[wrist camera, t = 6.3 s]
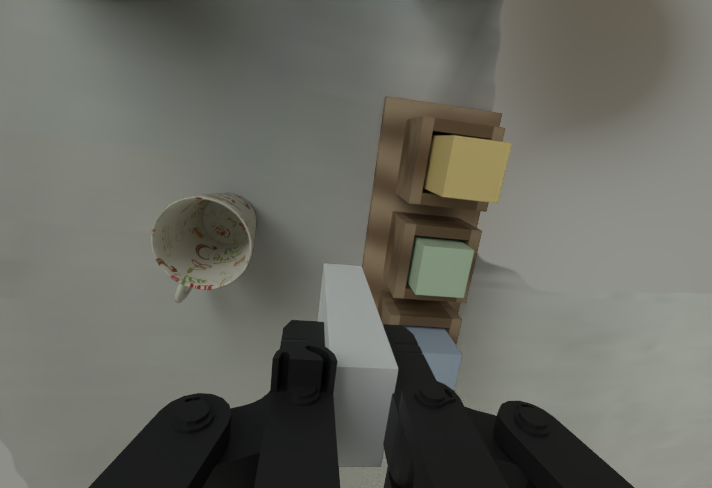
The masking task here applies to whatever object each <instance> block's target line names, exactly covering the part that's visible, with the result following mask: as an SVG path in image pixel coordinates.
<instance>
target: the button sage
mask: <svg viewBox="0 0 712 488" xmlns="http://www.w3.org/2000/svg"><path fill="white" fill-rule="evenodd" d="M473 254H474V250H473V249H472V248H470V247H469V246H467V245H466V244H465V243H463V242H462V241H460V240H459V239H450V238H439V237H429V236H418V235H415V236H414V241H413V247H412V253H411V259H410V264H409V270H408V276H407V282H408V284H409V285H410V287H411V289H412V290H413V292H414V293H415V295H428V296H442V297H456V298H464V294H465V290H466V285H467V281H468V276H469V272H470V268H471V263H472V259H473Z"/></svg>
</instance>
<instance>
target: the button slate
mask: <svg viewBox="0 0 712 488" xmlns="http://www.w3.org/2000/svg"><path fill="white" fill-rule="evenodd" d="M403 326H404V327H406V328H407V329H408V330H409V331H410V332H411V333H413V334H414V336H415V338H416V340H417V342H418V346H420V348H421V350H422V354H424V356H425V358H426V360H427V362H428V364H429V366H430V368H431V370H432V372H433V374H434V376H435V378H436V380H437V381H438V382H441V383H443V384H445V385H447V386H448V387H450V388H451V389H452V390H454V388H455V384H456V380H457V375H458V371H459V367H460V363H461V358H462V354H461V352H460V351H459V349H458V348H457V346H456V345H455V343H454V342H453V340H452V339H451V337H450V336H449V334H448V333H447V331H446V330H445V329H444V328H442V327H425V326H408V325H403Z"/></svg>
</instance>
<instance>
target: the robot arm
mask: <svg viewBox="0 0 712 488" xmlns="http://www.w3.org/2000/svg"><path fill="white" fill-rule="evenodd" d="M384 450H385V455H386V459H387V464H388V468H387V473H386V478H385V484H384V488H634V487H633V486H632V485H631V484H630V483H628V482H627V481H626V480H625V479H624V478H623V477H622V476H620V475H619V474H618V473H617V472H616V471H615V470H614V469H613V468H611V467H610V466H609V465H608V464H607V463H606V462H605V461H603V460H602V459H601V458H600V457H599V456H598V455H597V454H595V453H594V452H593V451H592V450H591V449H590V448H589V447H587V446H586V445H585V444H584V443H583V442H582V441H581V440H579V439H578V438H577V437H576V436H575V435H574V434H573V433H571V432H570V431H569V430H568V429H567V428H566V427H565V426H563V425H562V424H561V423H560V422H559V421H558V420H557V419H555V418H554V417H553V416H552V415H550V414H549V413H547V412H546V411H545V410H543V409H541V408H539V407H537V406H534V405H533V404H529V403H526V402H521V401H508V402H505V403H503V404H502V405H501V407H500V409H499V411H498V414H497V416H495V415H491V414H488V413H484V412H480V411H476V410H473V409H470V408H467V407H464V405H463V403H462V401H461V399H460V398H459V396H458V395H457V394H456V393H455V392H454V390H452V389H451V388H450V387H448V386H447V385H445V384H443V383H441V382H438V381H437V380H436V378H435V376H434V374H433V372H432V370H431V368H430V366H429V364H428V362H427V360H426V358H425V356H424V354H422V350H421V348H420V346H418V342H417V340H416V338H415V336H414V334H413V333H411V332H410V331H409V330H408V329H407V328H406V327H404V326H403V325H389V324H382V322H381V319H380V316H379V313H378V310H377V308H376V305H375V302H374V299H373V297H372V294H371V291H370V288H369V285H368V283H367V280H366V277H365V274H364V271H363V269H362V266H352V265H340V264H327V263H324V266H323V275H322V285H321V294H320V304H319V313H318V322H317V321H300V320H291V321H290V322H289V323H288V324H287V325H286V326H285V327H284V328H283V334H282V340H281V346H280V349H279V350H278V351H276V353H275V355H274V357H273V363H272V377H271V390H270V391H269V393H268V394H267V395H265V396H264V397H263V398H262V399H260V400H258V401H256V402H254V403H251V404H248V405H244V406H240V407H235V408H231V409H230V406H229V404H228V403H227V402H226V401H225V400H224V399H223V398H221V397H218V396H216V395H213V394H202V393H198V394H192V395H187V396H183V397H181V398H179V399H177V400H174V401H172V402H170V403H169V404H168V405H167V406H165V407H164V408H163V409H162V410H160V411H159V412H158V413H157V415H156V416H155V417H154V418H153V419H152V420H151V421H150V422H149V423H148V424H147V425H146V426H145V427H144V428H143V430H142V431H141V432H140V433H139V434H138V435H137V436H136V437H135V438H134V439H133V440H132V441H131V442H130V444H129V445H128V446H127V447H126V448H125V449H124V450H123V451H122V452H121V453H120V454H119V455H118V456H117V458H116V459H115V460H114V461H113V462H112V463H111V464H110V465H109V466H108V467H107V468H106V469H105V470H104V472H103V473H102V474H101V475H100V476H99V477H98V478H97V479H96V480H95V481H94V482H93V483H92V484H91V486H90V487H89V488H340V479H339V467H381V463H382V458H383V452H384Z"/></svg>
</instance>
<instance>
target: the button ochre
mask: <svg viewBox="0 0 712 488" xmlns="http://www.w3.org/2000/svg"><path fill="white" fill-rule="evenodd" d="M511 145H512V143H507V142H500V141H492V140H485V139H478V138H471V137H463V136H456V135H442V136H432V138H431V144H430V150H429V156H428V161H427V167H426V173H425V178H424V184H423V188H424V189H427V190H429V191H431V192H433V193H435V194H437V195H439V196H442V197H448V198H457V199H466V200H474V201H483V202H493V203H498V201H499V196H500V192H501V188H502V184H503V179H504V175H505V170H506V166H507V162H508V158H509V153H510V149H511Z"/></svg>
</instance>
